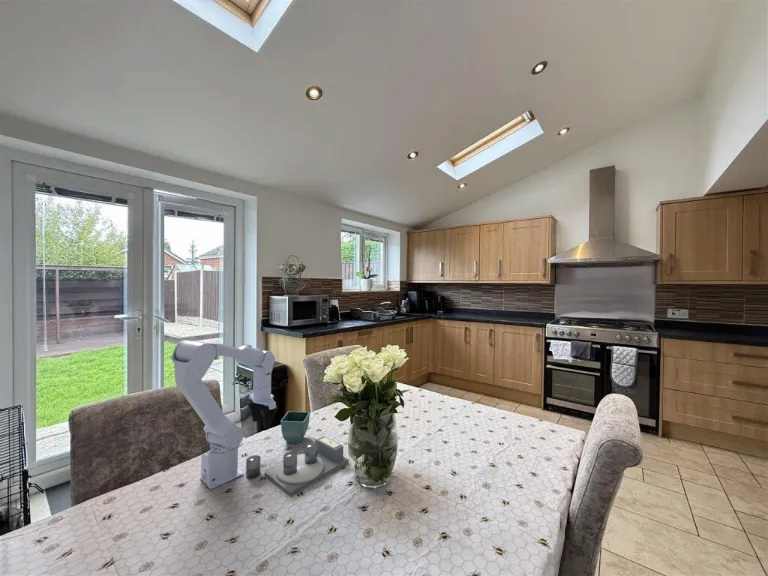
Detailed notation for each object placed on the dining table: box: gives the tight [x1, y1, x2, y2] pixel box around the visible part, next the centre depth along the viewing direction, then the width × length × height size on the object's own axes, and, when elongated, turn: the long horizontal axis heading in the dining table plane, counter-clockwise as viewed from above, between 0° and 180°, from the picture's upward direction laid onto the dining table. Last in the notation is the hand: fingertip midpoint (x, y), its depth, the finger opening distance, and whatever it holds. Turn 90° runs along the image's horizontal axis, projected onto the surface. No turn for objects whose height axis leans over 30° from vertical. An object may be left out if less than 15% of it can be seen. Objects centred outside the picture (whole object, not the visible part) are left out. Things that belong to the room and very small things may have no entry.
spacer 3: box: [304, 442, 318, 465], centre depth 100 cm, size 4×4×5 cm
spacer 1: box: [245, 454, 261, 480], centre depth 96 cm, size 4×4×5 cm
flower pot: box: [280, 410, 311, 444], centre depth 118 cm, size 9×9×9 cm
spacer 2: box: [282, 451, 298, 476], centre depth 94 cm, size 4×4×5 cm
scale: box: [263, 435, 350, 497], centre depth 99 cm, size 22×14×6 cm, turn 140°
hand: (261, 424), depth 109 cm, fingers open, 7 cm apart
